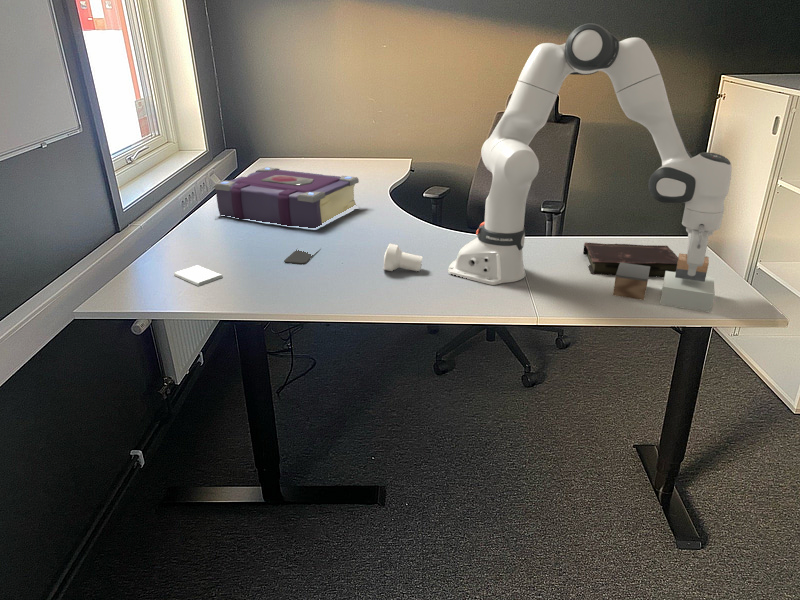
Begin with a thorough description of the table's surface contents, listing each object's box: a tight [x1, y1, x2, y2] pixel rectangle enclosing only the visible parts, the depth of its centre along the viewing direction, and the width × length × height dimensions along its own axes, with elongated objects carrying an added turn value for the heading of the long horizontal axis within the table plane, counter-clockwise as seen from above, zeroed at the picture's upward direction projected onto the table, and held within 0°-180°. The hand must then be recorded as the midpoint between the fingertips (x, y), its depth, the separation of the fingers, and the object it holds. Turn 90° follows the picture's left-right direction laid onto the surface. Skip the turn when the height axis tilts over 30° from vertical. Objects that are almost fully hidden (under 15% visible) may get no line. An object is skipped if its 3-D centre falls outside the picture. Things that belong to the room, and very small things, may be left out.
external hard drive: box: [173, 264, 223, 287], centre depth 178 cm, size 2×8×12 cm
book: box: [214, 166, 360, 228], centre depth 234 cm, size 33×45×14 cm
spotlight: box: [383, 243, 424, 272], centre depth 180 cm, size 8×11×8 cm
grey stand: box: [659, 271, 716, 313], centre depth 161 cm, size 12×12×5 cm
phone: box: [283, 249, 313, 265], centre depth 194 cm, size 7×1×15 cm
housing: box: [675, 253, 710, 282], centre depth 158 cm, size 5×7×5 cm
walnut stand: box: [612, 262, 650, 301], centre depth 166 cm, size 8×10×6 cm
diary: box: [582, 242, 679, 278], centre depth 183 cm, size 19×25×5 cm
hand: (691, 270), depth 159 cm, fingers closed on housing, 5 cm apart
